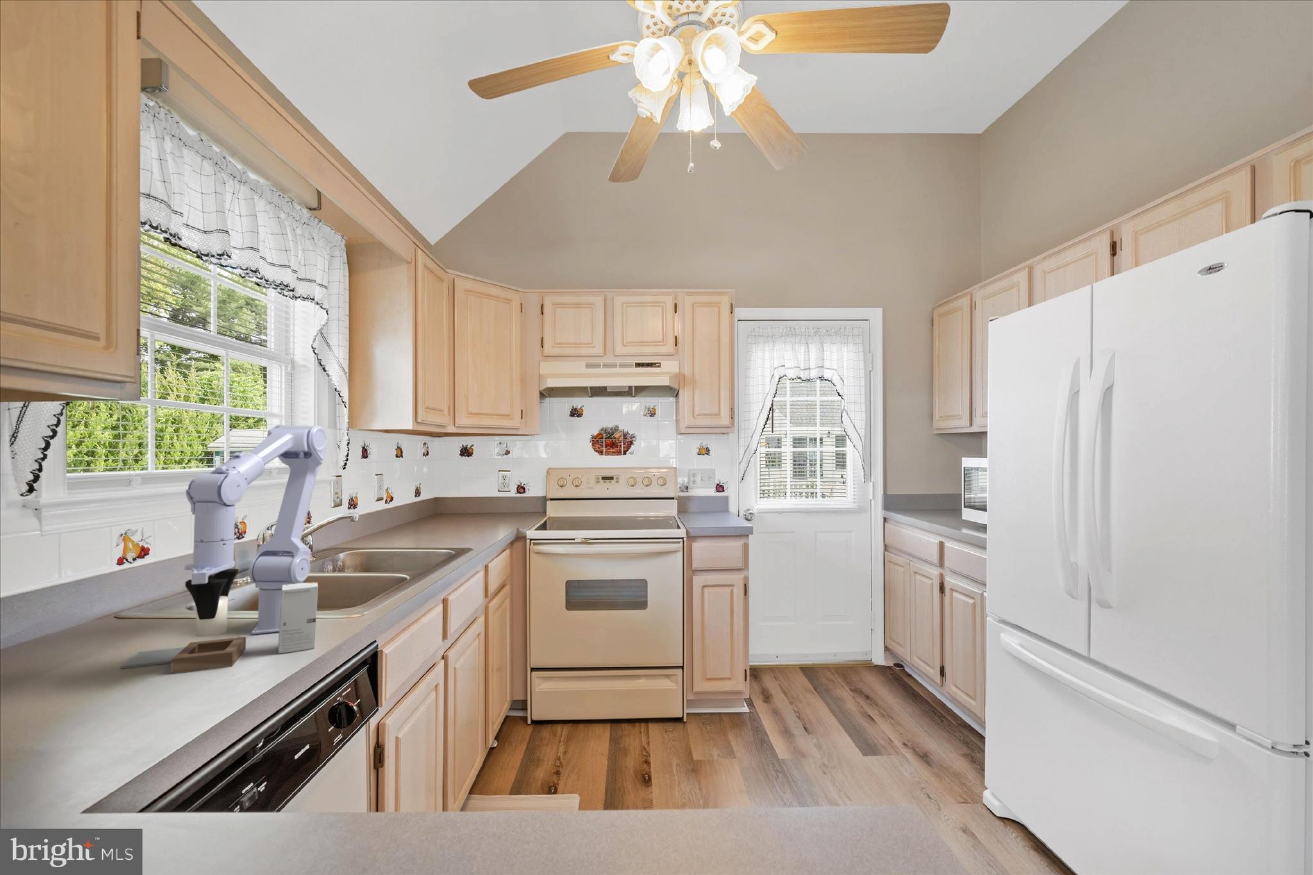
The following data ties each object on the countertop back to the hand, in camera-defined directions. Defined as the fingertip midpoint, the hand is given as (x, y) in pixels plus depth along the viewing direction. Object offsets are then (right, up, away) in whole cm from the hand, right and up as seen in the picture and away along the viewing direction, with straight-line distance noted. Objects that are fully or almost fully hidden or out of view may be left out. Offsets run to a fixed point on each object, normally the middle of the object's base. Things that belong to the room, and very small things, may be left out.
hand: (212, 614), depth 98 cm
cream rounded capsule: (0, -3, 0) cm, 3 cm away
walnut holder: (0, -8, 0) cm, 8 cm away
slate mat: (-11, -8, +1) cm, 14 cm away
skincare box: (+11, -9, +7) cm, 16 cm away
